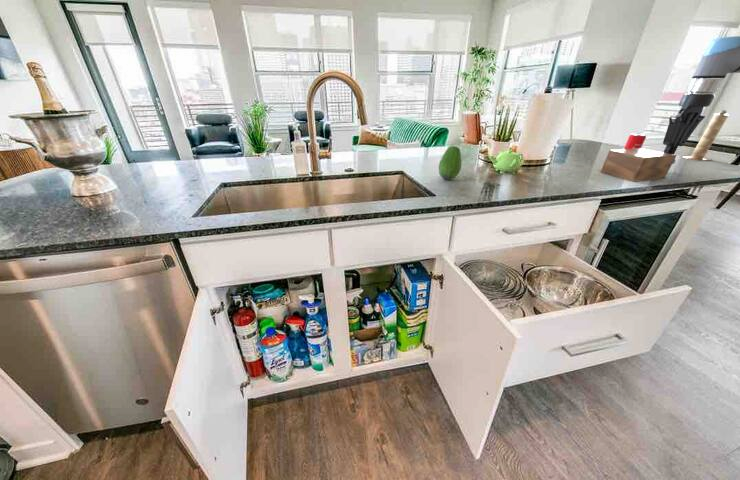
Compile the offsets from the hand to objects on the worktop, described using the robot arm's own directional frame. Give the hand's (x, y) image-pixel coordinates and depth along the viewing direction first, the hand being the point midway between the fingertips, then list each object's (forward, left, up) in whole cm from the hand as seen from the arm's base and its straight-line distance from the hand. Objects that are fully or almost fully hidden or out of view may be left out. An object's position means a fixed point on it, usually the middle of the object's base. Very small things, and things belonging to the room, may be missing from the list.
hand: (663, 163), depth 104 cm
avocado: (+64, +54, -4) cm, 84 cm away
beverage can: (+10, -10, -4) cm, 14 cm away
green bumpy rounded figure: (+50, +32, -4) cm, 59 cm away
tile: (-16, -37, -4) cm, 41 cm away
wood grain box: (+9, +10, -4) cm, 14 cm away
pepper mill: (-16, -37, -3) cm, 40 cm away
